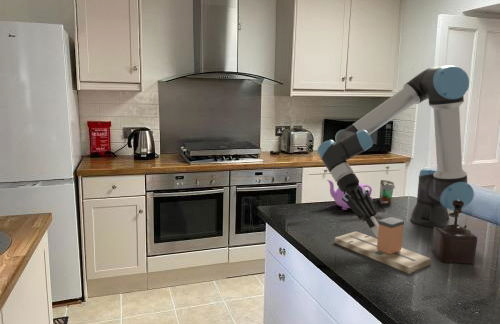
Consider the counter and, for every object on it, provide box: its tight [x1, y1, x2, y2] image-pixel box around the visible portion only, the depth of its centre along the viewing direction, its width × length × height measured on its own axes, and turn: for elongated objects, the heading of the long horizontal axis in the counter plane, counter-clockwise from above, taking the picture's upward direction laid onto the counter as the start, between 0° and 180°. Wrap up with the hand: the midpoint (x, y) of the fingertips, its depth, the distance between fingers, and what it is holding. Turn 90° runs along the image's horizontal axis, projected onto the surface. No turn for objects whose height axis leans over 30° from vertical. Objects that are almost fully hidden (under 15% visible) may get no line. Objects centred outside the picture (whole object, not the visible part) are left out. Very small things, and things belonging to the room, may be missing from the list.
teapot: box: [326, 179, 374, 211], centre depth 189 cm, size 22×16×14 cm
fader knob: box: [377, 216, 405, 254], centre depth 134 cm, size 5×7×10 cm
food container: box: [379, 179, 396, 205], centre depth 200 cm, size 12×6×10 cm, turn 168°
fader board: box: [334, 231, 432, 275], centre depth 138 cm, size 30×12×2 cm, turn 37°
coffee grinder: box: [431, 200, 478, 265], centre depth 137 cm, size 16×11×18 cm
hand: (380, 234), depth 137 cm, fingers closed
